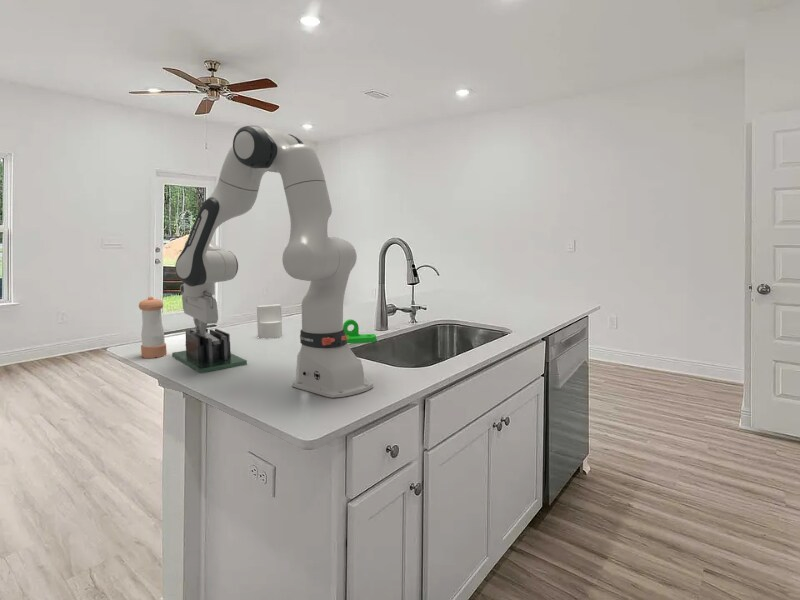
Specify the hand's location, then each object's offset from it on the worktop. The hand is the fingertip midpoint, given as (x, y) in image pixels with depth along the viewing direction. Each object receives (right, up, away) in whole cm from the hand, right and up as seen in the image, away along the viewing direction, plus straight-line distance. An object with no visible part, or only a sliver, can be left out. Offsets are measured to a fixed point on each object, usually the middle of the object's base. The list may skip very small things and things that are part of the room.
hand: (200, 332), depth 155 cm
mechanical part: (+49, -5, +26) cm, 56 cm away
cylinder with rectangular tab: (+13, -4, +32) cm, 35 cm away
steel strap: (+3, -2, -2) cm, 4 cm away
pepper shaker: (-16, -8, +3) cm, 18 cm away
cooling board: (+3, -9, -2) cm, 10 cm away
